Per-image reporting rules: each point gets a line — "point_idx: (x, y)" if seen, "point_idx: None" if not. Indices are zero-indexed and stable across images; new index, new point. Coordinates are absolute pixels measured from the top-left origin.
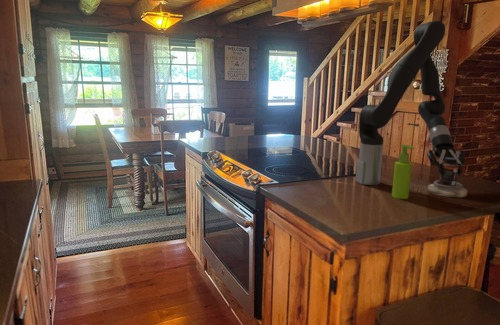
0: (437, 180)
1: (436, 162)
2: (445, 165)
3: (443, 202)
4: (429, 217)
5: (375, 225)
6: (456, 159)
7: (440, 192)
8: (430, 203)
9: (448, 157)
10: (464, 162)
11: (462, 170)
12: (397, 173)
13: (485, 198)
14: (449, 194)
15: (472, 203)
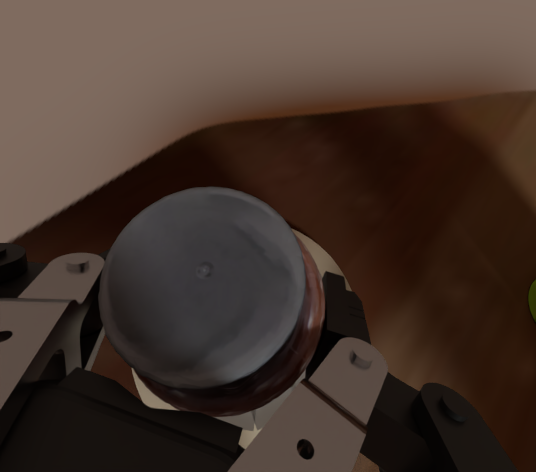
0: (253, 427)
1: (409, 398)
2: (319, 277)
3: (387, 190)
4: (527, 92)
5: None
6: (166, 199)
7: (340, 271)
8: (454, 193)
9: (181, 360)
10: (8, 244)
11: None
12: None
13: (152, 190)
14: (308, 239)
15: (272, 155)
